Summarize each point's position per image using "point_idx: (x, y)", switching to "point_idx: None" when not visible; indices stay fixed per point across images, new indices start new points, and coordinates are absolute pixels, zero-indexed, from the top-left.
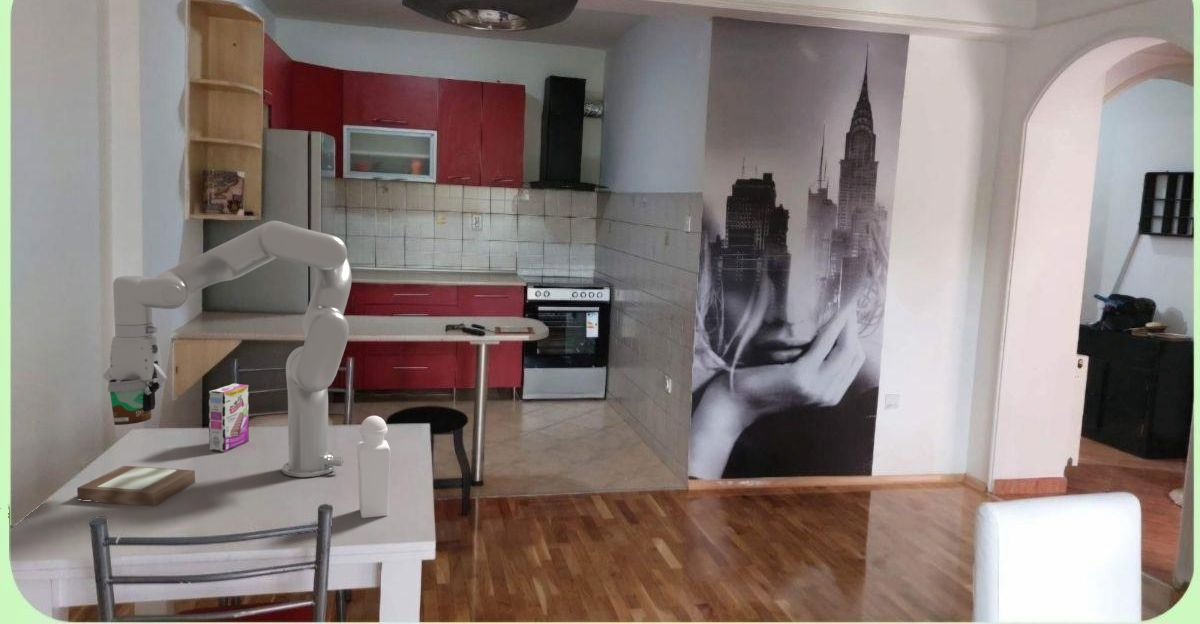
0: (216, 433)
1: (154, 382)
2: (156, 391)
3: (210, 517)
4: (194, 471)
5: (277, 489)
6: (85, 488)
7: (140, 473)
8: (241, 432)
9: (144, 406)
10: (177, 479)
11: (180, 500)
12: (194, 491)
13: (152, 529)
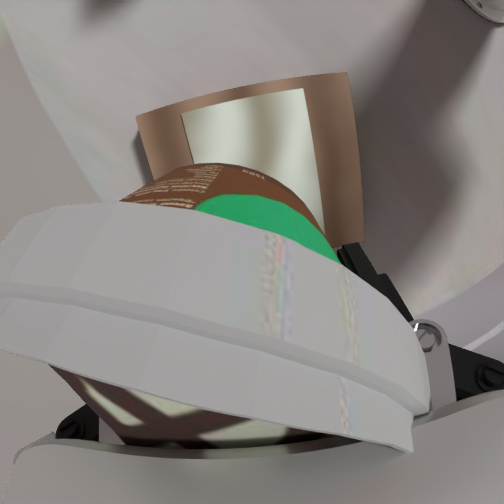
0: None
1: (451, 397)
2: (427, 320)
3: (462, 236)
4: (346, 73)
5: (497, 86)
6: None
7: (235, 149)
8: None
9: None
10: (355, 148)
11: (382, 184)
12: (376, 128)
13: (407, 300)
